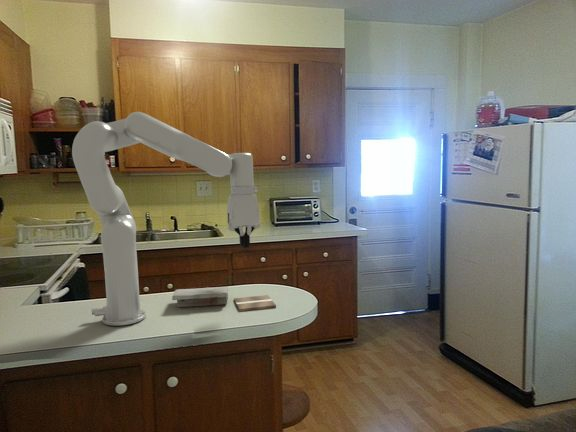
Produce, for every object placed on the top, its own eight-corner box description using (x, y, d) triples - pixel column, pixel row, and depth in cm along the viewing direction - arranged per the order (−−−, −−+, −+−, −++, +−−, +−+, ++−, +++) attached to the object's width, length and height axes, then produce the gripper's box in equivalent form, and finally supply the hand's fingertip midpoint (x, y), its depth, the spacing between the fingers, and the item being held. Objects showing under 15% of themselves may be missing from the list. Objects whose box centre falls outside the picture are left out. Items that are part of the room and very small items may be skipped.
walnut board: (239, 311, 141) (239, 308, 141) (233, 300, 153) (233, 298, 153) (276, 307, 144) (275, 305, 144) (267, 297, 156) (267, 294, 156)
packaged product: (228, 306, 146) (228, 299, 155) (227, 292, 145) (227, 286, 155) (172, 310, 143) (175, 302, 153) (171, 295, 143) (175, 288, 153)
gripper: (260, 189, 150) (262, 243, 152) (217, 192, 144) (219, 247, 146) (268, 190, 143) (270, 246, 145) (222, 193, 137) (225, 251, 139)
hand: (245, 247), depth 146 cm, fingers closed
